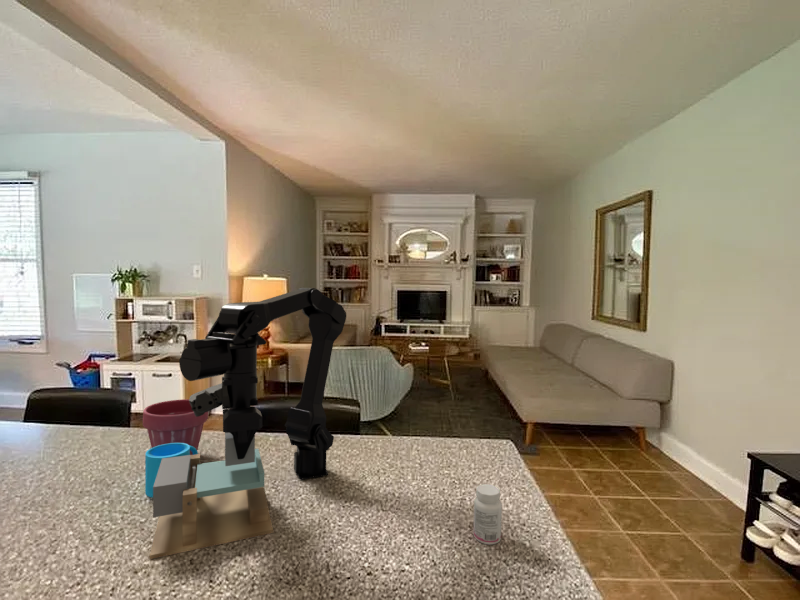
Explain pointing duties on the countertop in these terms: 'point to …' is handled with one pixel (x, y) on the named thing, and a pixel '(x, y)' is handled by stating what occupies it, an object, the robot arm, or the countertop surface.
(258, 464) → the trapdoor
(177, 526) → the frame
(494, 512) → the pill bottle
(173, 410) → the plant pot
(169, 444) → the mug
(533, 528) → the countertop surface
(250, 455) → the gray cube
